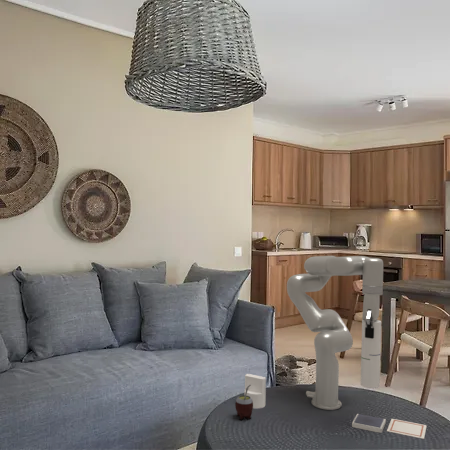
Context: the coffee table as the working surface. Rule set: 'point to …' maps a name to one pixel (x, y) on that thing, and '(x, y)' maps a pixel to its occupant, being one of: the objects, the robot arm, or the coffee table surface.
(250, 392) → the base with upright slab
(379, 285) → the robot arm
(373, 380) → the cylindrical container
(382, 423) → the ink pad
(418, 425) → the marked paper
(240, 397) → the mate gourd
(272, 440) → the coffee table surface
